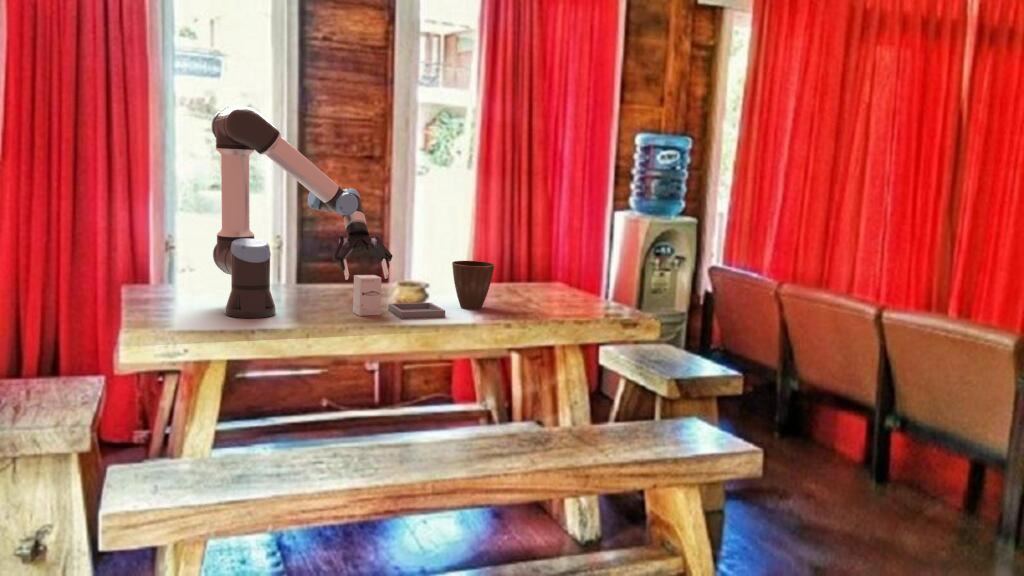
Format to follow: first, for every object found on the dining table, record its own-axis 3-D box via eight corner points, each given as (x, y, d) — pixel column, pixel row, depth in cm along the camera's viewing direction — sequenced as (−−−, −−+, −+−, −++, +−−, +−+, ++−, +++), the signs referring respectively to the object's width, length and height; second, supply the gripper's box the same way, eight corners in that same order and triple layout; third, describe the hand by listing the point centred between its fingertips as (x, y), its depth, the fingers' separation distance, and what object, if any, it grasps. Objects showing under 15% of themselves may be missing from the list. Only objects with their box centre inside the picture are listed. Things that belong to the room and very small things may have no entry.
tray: (401, 319, 260) (401, 312, 260) (388, 310, 273) (388, 303, 273) (445, 317, 266) (445, 310, 266) (430, 309, 280) (430, 302, 279)
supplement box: (359, 316, 261) (359, 278, 259) (352, 312, 268) (353, 274, 266) (381, 315, 265) (382, 277, 263) (374, 311, 271) (374, 274, 269)
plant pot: (484, 303, 296) (486, 260, 293) (498, 311, 282) (500, 266, 280) (445, 304, 291) (447, 260, 288) (457, 312, 277) (459, 266, 274)
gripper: (388, 234, 290) (400, 282, 279) (318, 234, 279) (328, 284, 268) (393, 220, 284) (405, 269, 274) (322, 220, 273) (332, 271, 263)
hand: (367, 277), depth 271 cm, fingers open, 13 cm apart
